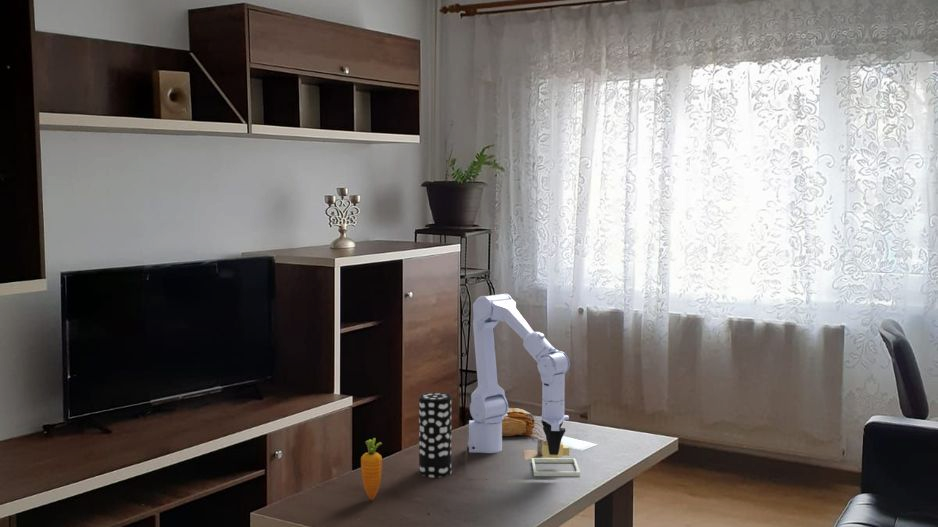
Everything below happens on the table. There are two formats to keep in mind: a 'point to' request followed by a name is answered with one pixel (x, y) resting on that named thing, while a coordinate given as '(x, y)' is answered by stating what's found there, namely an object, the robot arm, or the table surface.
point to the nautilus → (518, 423)
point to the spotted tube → (435, 434)
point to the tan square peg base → (535, 451)
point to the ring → (562, 452)
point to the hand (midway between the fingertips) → (552, 451)
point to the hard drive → (577, 443)
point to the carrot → (371, 469)
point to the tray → (555, 473)
